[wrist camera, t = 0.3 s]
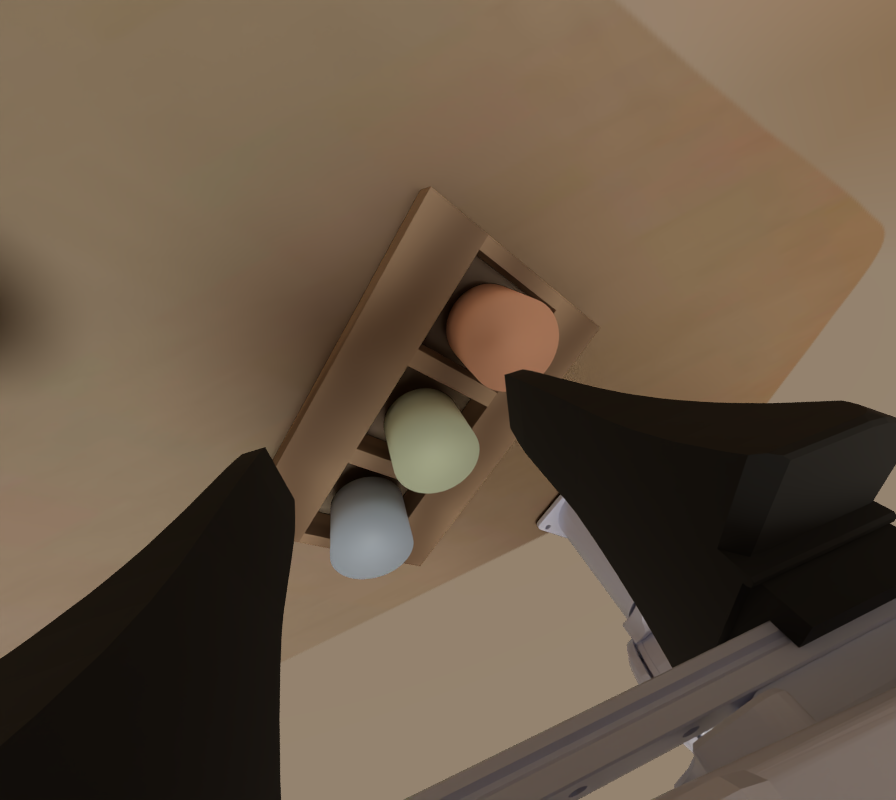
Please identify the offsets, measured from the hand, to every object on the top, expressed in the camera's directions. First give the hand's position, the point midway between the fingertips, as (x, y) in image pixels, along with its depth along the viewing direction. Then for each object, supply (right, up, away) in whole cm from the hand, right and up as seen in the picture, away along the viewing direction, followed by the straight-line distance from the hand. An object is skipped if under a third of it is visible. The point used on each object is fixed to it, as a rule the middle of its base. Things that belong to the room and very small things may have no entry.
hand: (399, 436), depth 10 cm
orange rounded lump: (+3, +5, +8) cm, 10 cm away
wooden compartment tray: (0, 0, +11) cm, 11 cm away
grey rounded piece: (-4, -5, +11) cm, 13 cm away
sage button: (0, 0, +10) cm, 10 cm away
